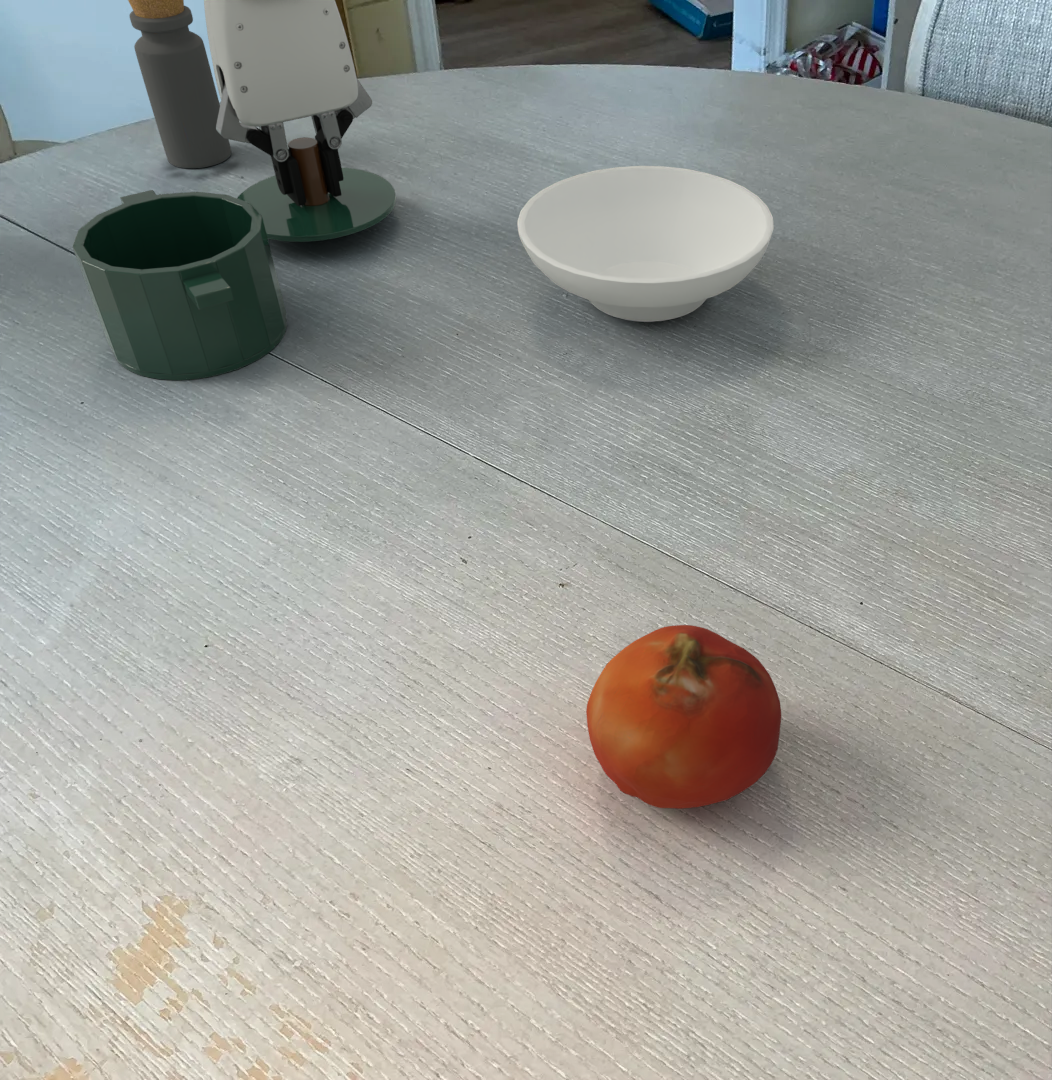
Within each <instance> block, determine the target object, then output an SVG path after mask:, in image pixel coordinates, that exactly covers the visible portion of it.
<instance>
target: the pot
mask: <svg viewBox="0 0 1052 1080" xmlns="http://www.w3.org/2000/svg"><path fill="white" fill-rule="evenodd" d="M119 199H120V202H121V204H119V205H117V206H115V207H112V208H110V209H108V210H105V211H103V212H101V213H98V214H96V215H95V216H94V217H92V218H91V219H90V220H89V221H87V223H85V224H84V225H83V226H81V227H80V228H79V229H78V230H77V232H76V234H75V235H76V236H75V237H74V241H73V242H72V250H73V252H74V256H75V258H76V261H77V263H78V267H79V268H80V271H81V274H82V277H83V279H84V282H85V285H86V288H87V290H88V293H89V296H90V299H91V301H92V304H93V307H94V309H95V312H96V314H97V317H98V321H99V323H100V326H101V328H102V331H103V333H104V336H105V339H106V341H107V344H108V347H109V348H110V350H111V353H112V354H113V357H114V358H115V360H116V361H117V362H118V364H119V365H120V366H122V367H123V368H124V369H126V370H127V371H129V372H131V373H133V374H136V375H139V376H141V377H145V378H149V379H156V380H164V381H187V380H189V381H190V380H197V379H198V380H199V379H205V378H209V377H215V376H220V375H223V374H227V373H230V372H234V371H236V370H239V369H242V368H244V367H246V366H248V365H251V364H253V363H254V362H255V363H256V361H259V360H261V359H262V358H264V357H265V356H266V355H268V354H269V353H270V352H271V351H273V350H274V349H275V348H276V347H277V346H278V345H279V344H280V343H281V341H282V339H283V338H284V336H285V335H286V332H287V329H288V328H287V327H288V321H287V310H286V306H285V302H284V298H283V294H282V290H281V287H280V283H279V278H278V274H277V269H276V266H275V262H274V259H273V254H272V251H271V246H270V241H269V239H268V238H267V234H266V230H265V226H264V222H263V218H262V215H261V214H260V213H259V212H258V211H257V210H256V209H255V208H254V207H253V206H252V205H251V204H250V203H248V202H246V201H243V200H240V199H237V197H234V196H232V195H229V194H223V193H214V192H203V191H187V192H175V193H162V194H161V193H160V194H156V192H155V191H154V190H153V189H150V190H146V191H145V190H144V191H142V192H137V193H133V194H132V193H131V194H129V195H128V194H127V195H125V196H121V197H119Z"/></svg>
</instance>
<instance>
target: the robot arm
mask: <svg viewBox="0 0 1052 1080" xmlns="http://www.w3.org/2000/svg"><path fill="white" fill-rule="evenodd" d="M203 6H204V17H205V25H206V32H207V39H208V44H209V52H210V55H211V61H212V67H213V74H214V78H215V82H216V83H215V84H216V88H217V91H218V95H219V98H220V103H219V104H220V109H219V114H218V119H217V124H216V130H217V131H218V132H219V133H220V135H221V136H222V137H223V138H225V139H229V141H234V142H239V143H244V144H245V143H246V144H251V145H252V146H253V147H255V148H257V149H258V150H260V151H262V152H264V153H265V154H266V155H268V156H270V159H271V164H272V167H273V171H274V176H276V180H277V184H278V187H279V189H280V191H281V193H282V194H283V195H286V194H287V195H288V196H289V197H290V198H291V199H292V200H293V201H294V203H295V204H296V205H297V206H301V205H305V203H306V198H305V193H304V189H303V184H302V180H301V175H300V171H299V167H298V163H297V160H296V159H295V158H294V157H293V156H292V155H291V153H290V150H289V148H288V141H287V135H286V130H285V125H284V124H285V122H291V121H295V120H300V119H304V118H309V117H310V118H311V120H312V124H313V128H314V132H315V135H314V139H316V140H317V141H318V145H319V150H320V155H321V159H322V164H323V169H324V174H325V178H326V183H327V188H328V192H329V193H330V194H331V195H332V196H335V197H337V196H341V189H340V184H339V181H343V172H342V168H343V167H342V163H341V158H340V153H339V149H340V148H341V147H342V144H343V140H342V139H343V137H344V136H345V134H346V133H347V131H348V130H349V128H350V126H351V125H352V123H353V121H354V119H355V118H356V119H357V118H358V117H360V116H361V115H362V114H363V113H364V112H366V111H367V110H368V109H369V108H371V107H372V106H373V99H372V97H371V96H370V95H369V93H368V92H367V91H366V89H365V87H364V86H363V84H362V83H361V82H360V80H359V79H358V77H357V73H356V69H355V64H354V59H353V56H352V52H351V49H350V44H349V41H348V37H347V34H346V30H345V27H344V24H343V20H342V17H341V14H340V11H339V8H338V6H337V2H336V0H203ZM341 167H342V168H341Z"/></svg>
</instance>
